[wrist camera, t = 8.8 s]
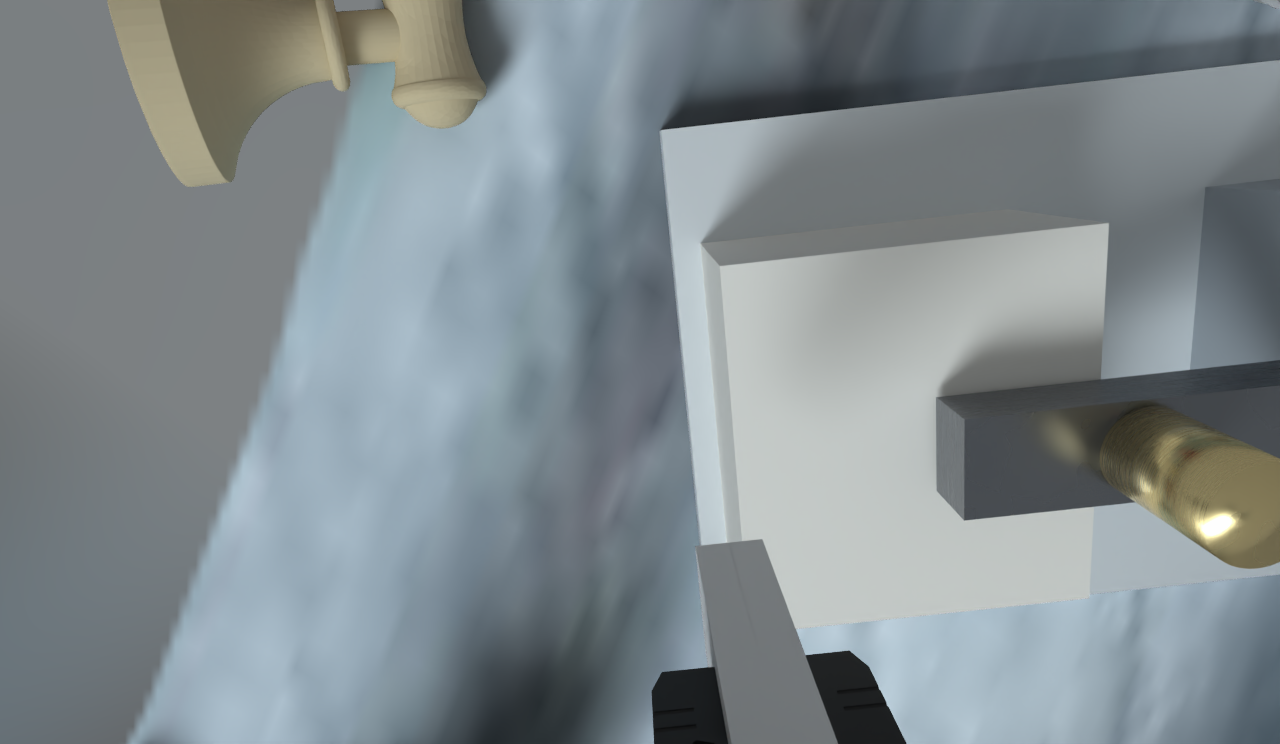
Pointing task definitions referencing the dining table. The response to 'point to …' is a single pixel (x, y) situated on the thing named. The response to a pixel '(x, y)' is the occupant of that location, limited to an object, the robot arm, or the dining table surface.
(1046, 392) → the bolt
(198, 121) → the door knob
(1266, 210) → the white stepped platform
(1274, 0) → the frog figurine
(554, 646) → the dining table surface
